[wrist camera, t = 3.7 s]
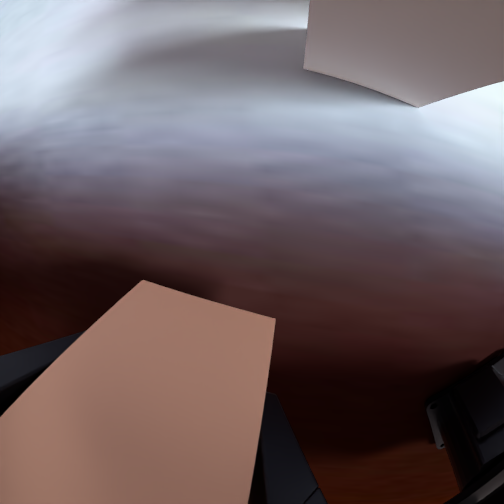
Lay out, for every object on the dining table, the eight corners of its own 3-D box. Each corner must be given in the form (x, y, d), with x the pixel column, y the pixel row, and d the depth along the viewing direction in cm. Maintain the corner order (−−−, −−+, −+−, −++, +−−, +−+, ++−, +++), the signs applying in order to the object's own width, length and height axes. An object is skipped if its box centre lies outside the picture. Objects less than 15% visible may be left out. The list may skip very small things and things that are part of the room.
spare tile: (261, 361, 11) (202, 632, 2) (139, 323, 11) (-17, 524, 2) (275, 318, 10) (216, 644, 1) (142, 279, 11) (-61, 489, 1)
